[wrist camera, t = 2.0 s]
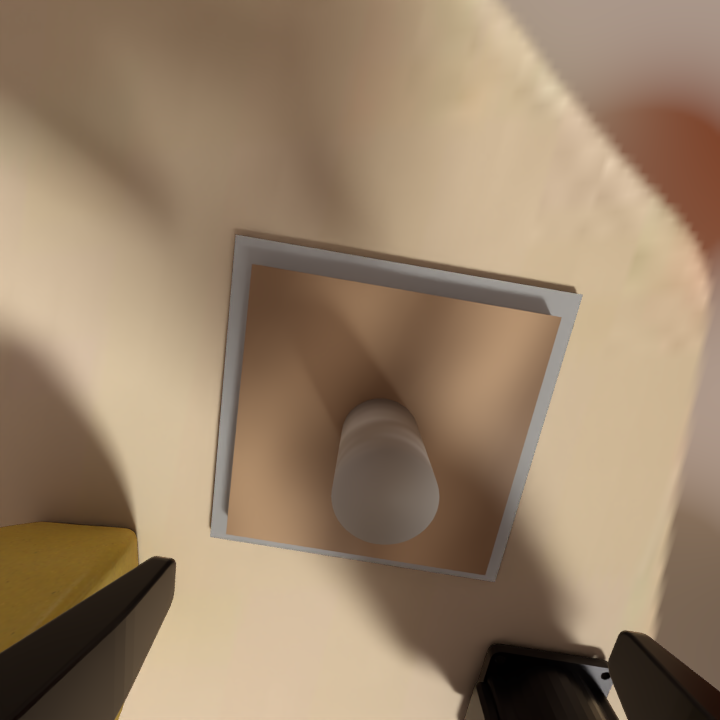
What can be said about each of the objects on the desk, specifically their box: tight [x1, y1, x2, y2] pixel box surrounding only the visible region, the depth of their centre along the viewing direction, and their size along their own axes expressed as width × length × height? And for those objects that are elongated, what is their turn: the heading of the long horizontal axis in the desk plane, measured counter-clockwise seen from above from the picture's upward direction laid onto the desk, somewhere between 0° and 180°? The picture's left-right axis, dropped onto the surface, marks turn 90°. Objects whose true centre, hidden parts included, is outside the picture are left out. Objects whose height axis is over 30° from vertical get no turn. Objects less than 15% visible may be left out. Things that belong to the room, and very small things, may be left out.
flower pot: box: [0, 522, 138, 720], centre depth 13 cm, size 9×9×9 cm
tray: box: [210, 235, 583, 582], centre depth 16 cm, size 14×14×1 cm
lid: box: [226, 264, 562, 575], centre depth 13 cm, size 12×12×5 cm
